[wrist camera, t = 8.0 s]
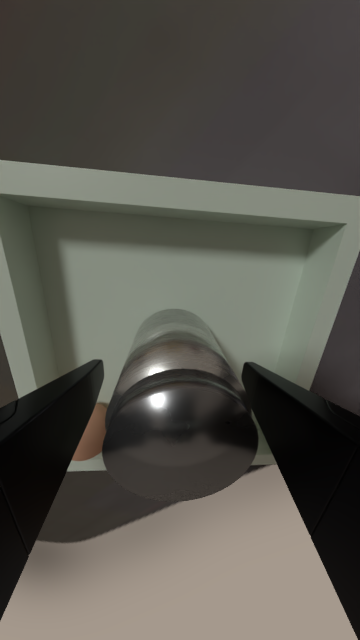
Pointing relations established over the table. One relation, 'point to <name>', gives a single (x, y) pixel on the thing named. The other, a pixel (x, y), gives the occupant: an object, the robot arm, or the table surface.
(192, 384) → the shaker
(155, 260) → the tray
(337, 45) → the table surface
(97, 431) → the tan ball
